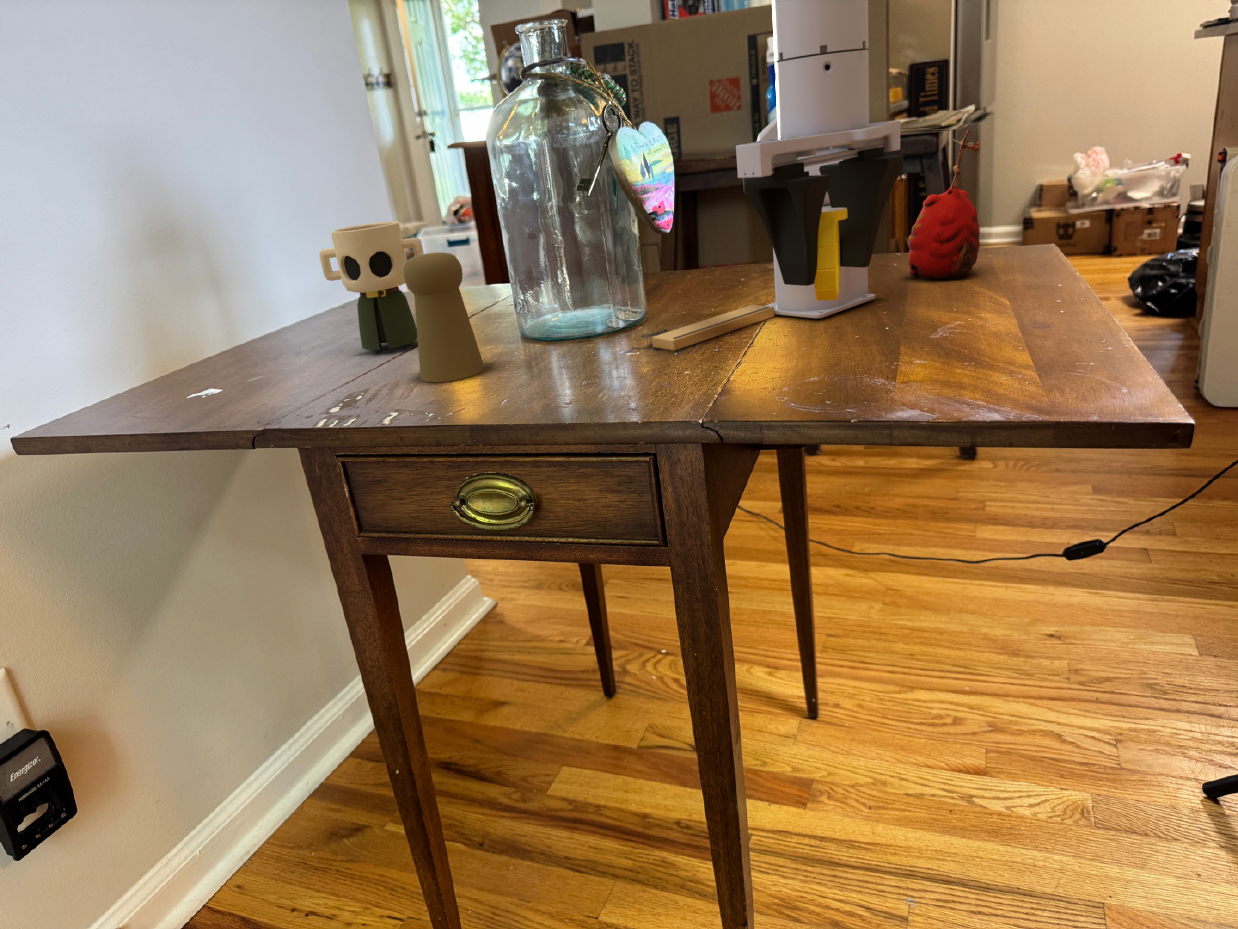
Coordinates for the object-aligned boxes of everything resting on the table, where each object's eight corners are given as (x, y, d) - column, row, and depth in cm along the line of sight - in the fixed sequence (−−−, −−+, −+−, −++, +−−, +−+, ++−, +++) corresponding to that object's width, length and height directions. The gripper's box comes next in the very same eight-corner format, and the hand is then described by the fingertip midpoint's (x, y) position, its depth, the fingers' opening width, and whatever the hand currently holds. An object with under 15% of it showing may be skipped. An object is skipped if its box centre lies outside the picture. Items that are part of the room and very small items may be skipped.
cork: (471, 380, 76) (447, 256, 72) (409, 384, 77) (383, 262, 73) (493, 361, 81) (472, 245, 77) (435, 365, 83) (412, 251, 79)
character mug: (334, 361, 90) (302, 237, 85) (352, 345, 96) (323, 229, 92) (435, 349, 90) (409, 223, 85) (446, 334, 96) (423, 216, 91)
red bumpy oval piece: (945, 266, 98) (949, 128, 92) (994, 272, 92) (1001, 124, 86) (894, 278, 95) (894, 136, 90) (941, 285, 89) (944, 133, 83)
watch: (847, 306, 56) (845, 213, 53) (804, 309, 56) (800, 217, 54) (850, 288, 61) (848, 202, 59) (811, 290, 62) (808, 206, 59)
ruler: (752, 314, 87) (751, 303, 87) (774, 316, 85) (774, 306, 85) (652, 347, 79) (651, 336, 79) (674, 351, 77) (673, 339, 77)
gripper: (797, 53, 46) (807, 301, 51) (942, 42, 54) (938, 257, 59) (704, 70, 51) (721, 294, 56) (850, 57, 59) (853, 254, 64)
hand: (827, 275), depth 58 cm, fingers closed on watch, 5 cm apart
